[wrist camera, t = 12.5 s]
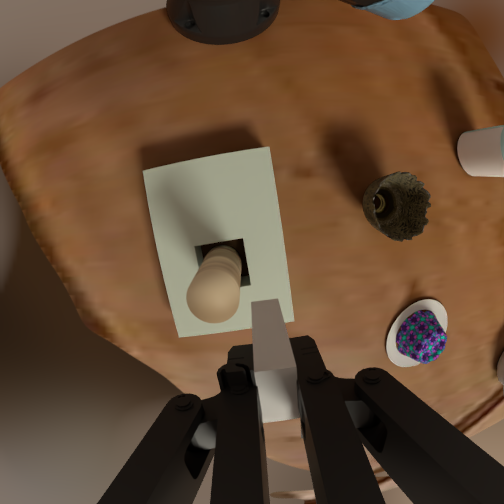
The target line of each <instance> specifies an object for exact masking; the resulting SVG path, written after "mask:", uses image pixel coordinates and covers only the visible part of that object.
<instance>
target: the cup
mask: <svg viewBox="0 0 504 504" xmlns="http://www.w3.org/2000/svg"><path fill="white" fill-rule="evenodd" d="M416 180H417V177H416V176H415V175H411V174H410V173H409V172H402V173H401V172H396V173H393V174H390V175H387V176H384V177H381V178H379V179H377V180H375V181H374V182H372V183H371V184H370V185H369V186H368V188H367V189H366V191H365V193H364V197H363V211H364V214H365V216H366V218H367V220H368V221H369V223H370V224H371V225H372V226H373V227H374V228H376V229H377V230H379V231H380V232H381V233H383V234H385V235H386V236H388V237H389V238H391V239H392V240H395V241H396V240H397V241H401V242H402V241H403V240H404V239H406V240H412V237H413V236H417V235H419V234H421V233H423V229H424V225H427V224H428V222H429V221H428V219H427V218H425V215H426V213H427V211H426V210H427V208H428V207H431V204H430V203H429V202H428V201H429V199H430V197H431V196H430V194H429V192H428V191H427V190H425V189H424V188H423V186H424V183H423V182H421V181H416ZM375 197H378V198H379V199H380V206H379V208H377V209H375V204H374V199H375Z"/></svg>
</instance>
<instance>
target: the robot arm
mask: <svg viewBox="0 0 504 504" xmlns="http://www.w3.org/2000/svg"><path fill="white" fill-rule="evenodd" d="M340 1H342V2H345V3H347V4H350V5H351V6H352V7H354V8H356V9H360V10H366V11H369V12H371V13H374V14H376V15H379V16H381V17H383V18H386V19H390V20H400V19H407V18H410V17H412V16H414V15H416V14H418V13H420V12H421V11H423V10H424V9H425V8H427V7H428V6H429V5H430V4H431V3H432V2H433V1H434V0H340ZM279 5H280V0H167V4H166V7H167V13H168V16H169V18H170V20H171V22H172V24H173V26H174V27H175V29H176V30H177V31H178V32H179V33H181V34H182V35H183V36H185V37H187V38H189V39H191V40H193V41H196V42H200V43H205V44H215V45H222V44H232V43H237V42H241V41H245V40H248V39H250V38H252V37H255V36H257V35H258V34H260V33H262V32H263V31H264V30H266V29H267V28H268V27H269V26H270V25H271V24H272V23H273V21H274V20H275V18H276V16H277V14H278V10H279ZM251 314H252V337H253V344H248V345H239V346H233V347H232V348H231V349H230V351H229V352H228V360H227V364H225V365H223V366H222V367H221V368H219V369H218V371H217V377H218V381H219V385H220V389H221V392H220V393H219V394H217V395H216V396H213V397H211V398H208V399H204V400H201V399H200V398H199V397H198V396H197V395H194V394H181V395H177V396H175V397H173V398H172V399H171V400H170V401H169V402H168V403H167V404H166V406H165V407H164V409H163V410H162V412H161V413H160V414H159V416H158V418H157V419H156V421H155V422H154V423H153V425H152V426H151V428H150V429H149V430H148V432H147V433H146V435H145V436H144V438H143V439H142V441H141V442H140V444H139V445H138V446H137V448H136V449H135V451H134V452H133V454H132V455H131V456H130V458H129V459H128V461H127V462H126V464H125V465H124V466H123V468H122V469H121V471H120V472H119V473H118V475H117V476H116V478H115V479H114V481H113V482H112V483H111V485H110V486H109V488H108V489H107V490H106V492H105V493H104V495H103V496H102V497H101V499H100V500H99V502H98V503H97V504H192V503H193V501H194V499H195V497H196V494H197V491H198V490H199V488H200V485H201V483H202V481H203V479H204V476H205V474H206V472H207V470H208V467H209V465H210V463H211V460H212V458H213V456H214V465H213V476H212V488H211V500H210V504H270V499H269V487H268V474H267V461H266V449H265V436H264V428H263V423H266V422H275V421H282V420H289V419H296V418H301V438H303V439H304V444H305V449H306V454H307V458H308V463H309V468H310V473H311V477H312V482H313V488H314V493H315V498H316V503H317V504H385V501H384V498H383V496H382V493H381V490H380V488H379V485H378V483H377V480H376V478H375V475H374V473H373V470H372V467H371V465H370V462H369V460H368V457H367V455H366V452H365V450H364V447H363V445H364V446H365V447H366V448H367V450H368V451H369V452H370V453H371V455H372V456H373V457H374V458H375V459H376V460H377V462H378V463H379V464H380V465H381V466H382V468H383V469H384V470H385V471H386V472H387V474H388V475H389V476H390V477H391V478H392V479H393V481H394V482H395V483H396V484H397V485H398V486H399V487H400V489H401V490H402V491H403V492H404V493H405V494H406V496H407V497H408V498H409V499H410V500H411V501H412V502H413V504H504V466H502V465H501V464H500V463H499V462H497V461H496V460H495V459H494V458H492V457H491V456H490V455H489V454H487V453H486V452H485V451H484V450H482V449H481V448H480V447H479V446H477V445H476V444H475V443H474V442H472V441H471V440H470V439H469V438H468V437H466V436H465V435H464V434H463V433H461V432H460V431H459V430H458V429H456V428H455V427H454V426H453V425H452V424H450V423H449V422H448V421H447V420H445V419H444V418H443V417H442V416H440V415H439V414H438V413H437V412H436V411H434V410H433V409H432V408H431V407H429V406H428V405H427V404H426V403H425V402H423V401H422V400H421V399H420V398H418V397H417V396H416V395H415V394H413V393H412V392H411V391H410V390H409V389H407V388H406V387H405V386H404V385H403V384H401V383H400V382H399V381H398V380H396V379H395V378H394V377H393V376H392V375H390V374H389V373H388V372H387V371H385V370H383V369H380V368H376V367H374V368H366V369H363V370H361V371H359V372H358V373H357V374H356V376H355V379H344V378H338V377H335V376H334V375H333V374H332V373H331V371H329V370H327V369H326V367H325V365H324V362H323V360H322V357H321V355H320V353H319V350H318V348H317V345H316V343H315V341H314V339H312V338H311V337H309V336H308V335H307V336H301V337H294V338H289V337H288V333H287V329H286V326H285V322H284V318H283V315H282V311H281V307H280V304H279V300H278V298H277V299H269V300H262V301H254V302H251ZM299 414H300V415H299ZM362 444H363V445H362Z"/></svg>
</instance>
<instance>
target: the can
mask: <svg viewBox="0 0 504 504" xmlns="http://www.w3.org/2000/svg"><path fill="white" fill-rule="evenodd" d="M457 152H458V157H459V161H460V163H461V165H462V167H463V169H464V170H465V171H466V172H467V173H468V174H469V175H471V176H492V177H504V125H501V126H495V127H489V128H483V129H477V130H472V131H466V132H464V133H462V134H461V136H460V137H459V140H458V145H457Z"/></svg>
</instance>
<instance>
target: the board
mask: <svg viewBox="0 0 504 504" xmlns="http://www.w3.org/2000/svg"><path fill="white" fill-rule="evenodd" d="M143 175H144V182H145V188H146V194H147V200H148V206H149V211H150V216H151V222H152V227H153V232H154V237H155V242H156V246H157V251H158V256H159V260H160V265H161V269H162V273H163V278H164V282H165V286H166V290H167V294H168V298H169V302H170V306H171V309H172V313H173V317H174V321H175V324H176V328H177V331H178V335H179V337H188V336H197V335H205V334H213V333H221V332H228V331H236V330H242V329H249V328H252V314H251V302H254V301H262V300H269V299H277V298H278V300H279V304H280V307H281V311H282V315H283V318H284V322H285V323H286V322H292V321H294V315H293V307H292V299H291V291H290V283H289V275H288V268H287V260H286V253H285V246H284V239H283V232H282V225H281V218H280V211H279V205H278V198H277V192H276V185H275V179H274V173H273V167H272V160H271V154H270V148H269V147H263V148H256V149H249V150H243V151H236V152H230V153H225V154H219V155H213V156H208V157H203V158H198V159H193V160H188V161H183V162H178V163H174V164H169V165H165V166H161V167H156V168H152V169H148V170H144V171H143ZM241 238H243V241H244V247H245V252H246V258H247V264H248V270H249V276H242V277H241V281H240V302H239V307H238V309H237V311H236V313H235V314H234V315H233V316H232V317H231V318H230V319H228V320H227V321H224V322H221V323H207V322H204V321H201V320H200V319H198V318H197V317H195V316H194V315H193V314H192V312H191V311H190V309H189V307H188V305H187V300H186V294H187V290H188V287H189V285H190V284H191V282H192V280H193V278H194V276H195V275H196V273H197V271H198V269H199V268H200V266H201V264H202V262H203V255H202V250H201V245H204V244H210V243H216V242H222V241H228V240H234V239H241Z"/></svg>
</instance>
